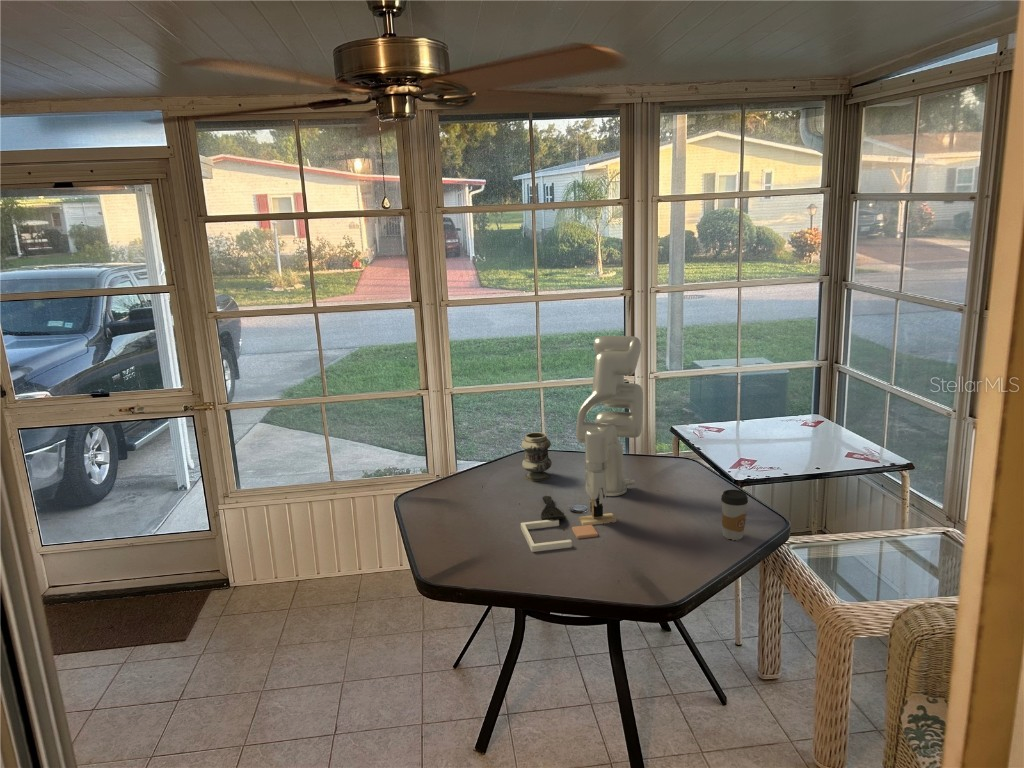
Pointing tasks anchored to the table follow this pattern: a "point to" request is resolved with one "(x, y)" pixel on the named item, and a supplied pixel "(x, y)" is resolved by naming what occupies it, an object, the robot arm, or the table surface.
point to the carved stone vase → (536, 456)
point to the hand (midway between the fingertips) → (596, 513)
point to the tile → (584, 531)
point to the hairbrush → (551, 510)
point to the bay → (547, 544)
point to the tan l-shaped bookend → (596, 520)
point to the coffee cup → (734, 513)
